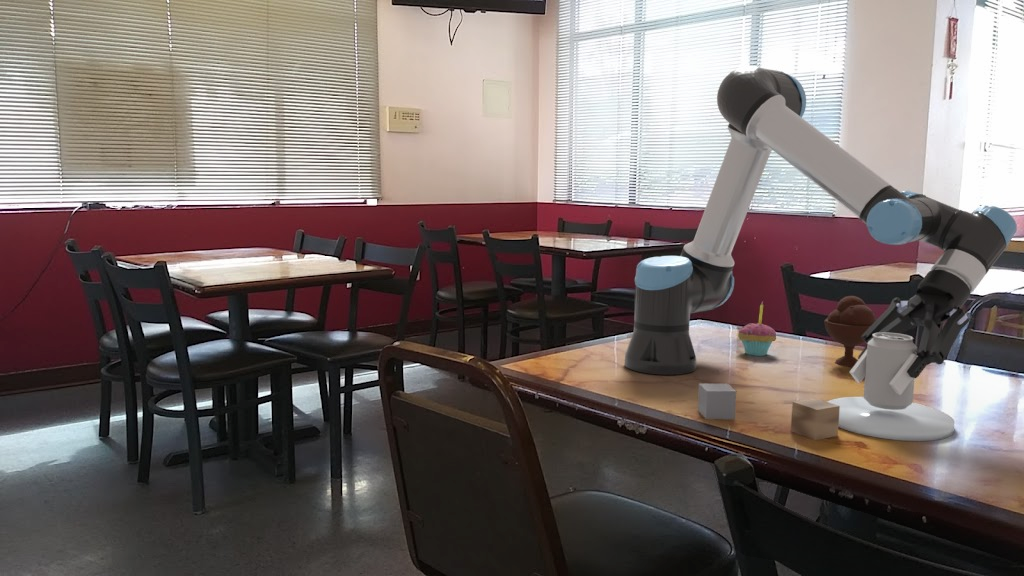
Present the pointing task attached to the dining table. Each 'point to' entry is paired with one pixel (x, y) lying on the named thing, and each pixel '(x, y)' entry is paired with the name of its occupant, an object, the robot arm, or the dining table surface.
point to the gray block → (717, 401)
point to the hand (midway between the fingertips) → (874, 383)
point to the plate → (893, 420)
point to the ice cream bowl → (849, 326)
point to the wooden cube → (815, 418)
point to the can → (887, 370)
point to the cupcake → (757, 337)
